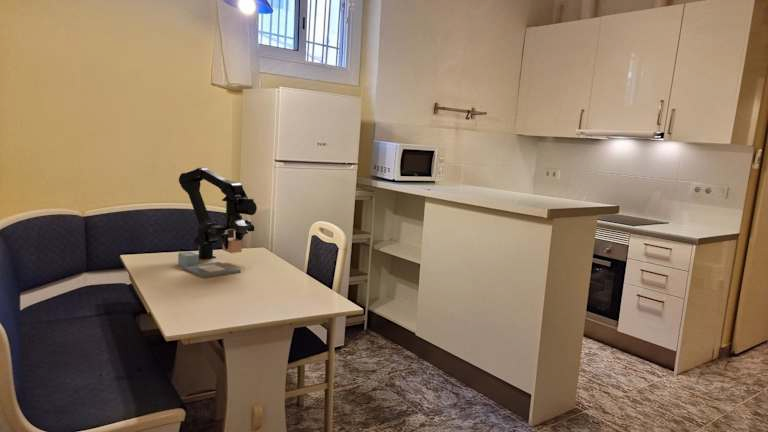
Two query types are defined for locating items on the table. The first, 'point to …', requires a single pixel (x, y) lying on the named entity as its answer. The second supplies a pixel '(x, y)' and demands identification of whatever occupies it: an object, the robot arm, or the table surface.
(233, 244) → the brick
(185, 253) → the brick
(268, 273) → the table surface
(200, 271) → the baseplate
